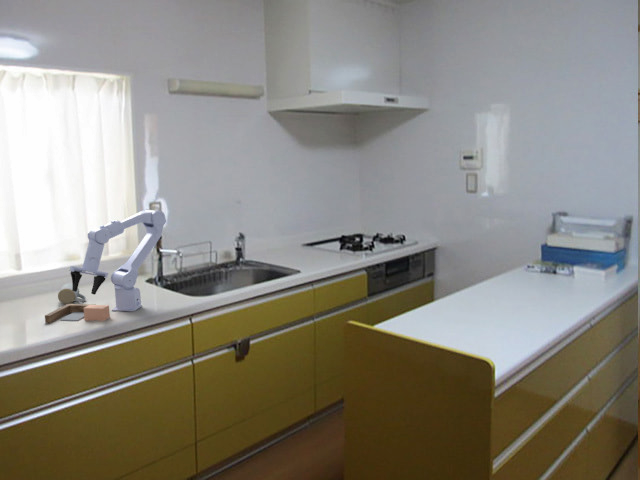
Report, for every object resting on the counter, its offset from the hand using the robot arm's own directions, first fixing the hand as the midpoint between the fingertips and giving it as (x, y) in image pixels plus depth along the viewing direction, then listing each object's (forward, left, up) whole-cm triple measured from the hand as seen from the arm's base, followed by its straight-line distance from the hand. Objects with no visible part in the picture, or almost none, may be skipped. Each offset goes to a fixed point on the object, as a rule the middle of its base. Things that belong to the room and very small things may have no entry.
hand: (83, 292), depth 214 cm
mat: (+5, -1, -10) cm, 11 cm away
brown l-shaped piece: (+6, -1, -10) cm, 12 cm away
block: (-5, 0, -10) cm, 11 cm away
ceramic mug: (+18, -22, -11) cm, 30 cm away
